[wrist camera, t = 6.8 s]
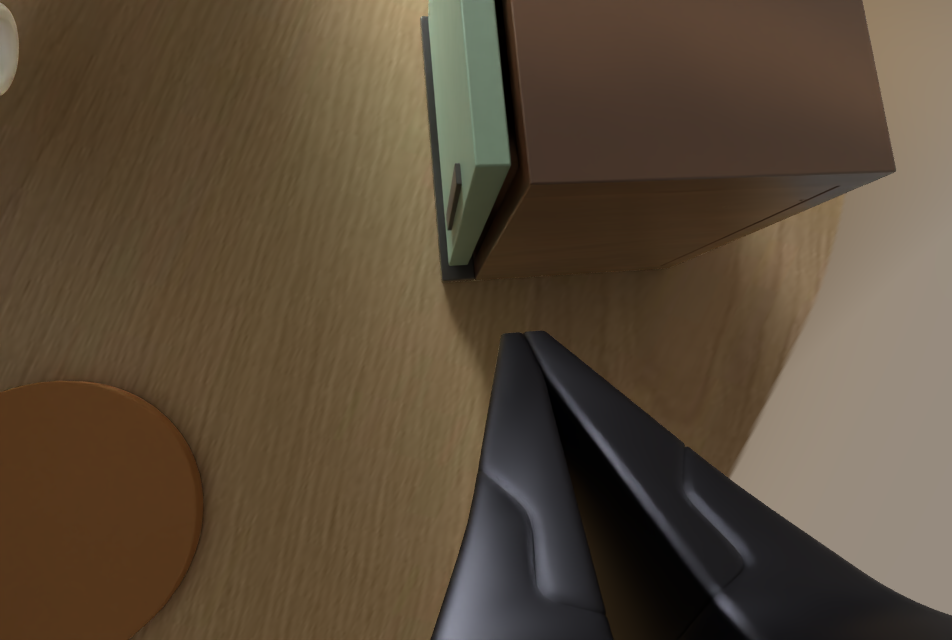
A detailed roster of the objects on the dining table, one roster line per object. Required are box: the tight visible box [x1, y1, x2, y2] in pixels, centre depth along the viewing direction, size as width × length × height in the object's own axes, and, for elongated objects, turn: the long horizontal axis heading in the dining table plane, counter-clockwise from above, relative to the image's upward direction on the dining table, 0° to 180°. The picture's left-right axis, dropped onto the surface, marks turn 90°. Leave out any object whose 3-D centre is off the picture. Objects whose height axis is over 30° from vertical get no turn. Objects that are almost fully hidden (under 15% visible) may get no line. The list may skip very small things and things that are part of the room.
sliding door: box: [428, 0, 511, 266], centre depth 15 cm, size 11×1×9 cm, turn 5°
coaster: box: [0, 381, 203, 640], centre depth 16 cm, size 10×10×1 cm
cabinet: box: [421, 0, 896, 283], centre depth 16 cm, size 12×10×10 cm
